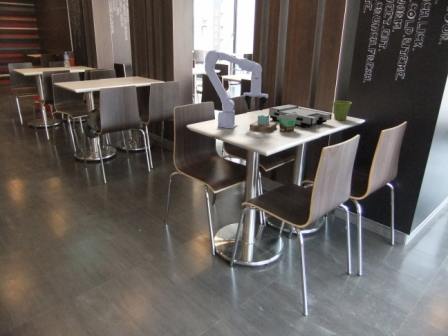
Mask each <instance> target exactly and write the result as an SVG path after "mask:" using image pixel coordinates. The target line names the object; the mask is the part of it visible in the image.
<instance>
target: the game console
mask: <svg viewBox="0 0 448 336" xmlns="http://www.w3.org/2000/svg"><path fill="white" fill-rule="evenodd" d="M293 112H296V113H297V118H296V122H295V127H296V126H297V127H298V128H301V129H306V128H310V127H311V126H314V125H317V126H319V125H321V124H324V123H326V122H328V121H330V120H332V116H333V115H332V114H333V113H330V112H329V113H328V112H323V111H318V110H311V109H307V108H301V107H299V105H296V104H286V105H284V104H283V105H280V106H279V105H278V106H274V107H269V109H268V115H269V119H271V120H272V121H271V122H274V123H279V114H283V115H285V114H292V113H293Z"/></svg>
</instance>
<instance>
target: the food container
mask: <svg viewBox="0 0 448 336" xmlns="http://www.w3.org/2000/svg"><path fill="white" fill-rule="evenodd" d="M296 118H297V113H296V112H293V113H292V114H285V115H283V114H279V122H278V123H279V124H278V125H279V132H280V133H293V132H294V131H295V129H296V128H295V127H296V126H295V122H296Z"/></svg>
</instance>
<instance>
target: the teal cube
mask: <svg viewBox="0 0 448 336" xmlns="http://www.w3.org/2000/svg"><path fill="white" fill-rule="evenodd" d="M257 121H258V124H260V125H267V124H269V122H270V115H269V114H265V113H260V114H258V115H257Z"/></svg>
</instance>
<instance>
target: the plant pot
mask: <svg viewBox="0 0 448 336" xmlns="http://www.w3.org/2000/svg"><path fill="white" fill-rule="evenodd" d="M352 103H353V102H352V101H347V100H334V101H332V106H333V117H334V120H337V121H347V120H346V119H348V118H347V117H348V114H349V110H350V108H351V105H352Z"/></svg>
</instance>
